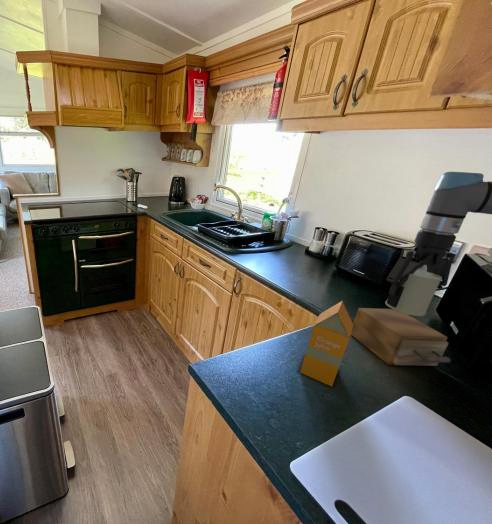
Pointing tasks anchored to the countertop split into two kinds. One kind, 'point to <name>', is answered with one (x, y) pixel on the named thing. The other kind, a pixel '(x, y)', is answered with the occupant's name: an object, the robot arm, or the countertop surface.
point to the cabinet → (389, 331)
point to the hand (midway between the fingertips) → (406, 305)
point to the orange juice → (327, 344)
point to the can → (417, 293)
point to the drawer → (421, 352)
